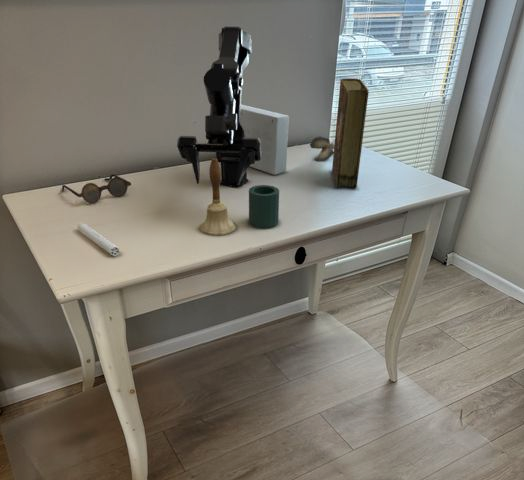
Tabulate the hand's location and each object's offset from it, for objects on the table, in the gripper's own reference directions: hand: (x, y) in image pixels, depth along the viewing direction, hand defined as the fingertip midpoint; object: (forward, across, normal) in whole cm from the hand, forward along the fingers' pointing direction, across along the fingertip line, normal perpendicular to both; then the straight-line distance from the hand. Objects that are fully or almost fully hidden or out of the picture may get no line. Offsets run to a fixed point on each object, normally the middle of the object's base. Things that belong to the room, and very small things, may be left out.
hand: (217, 183), depth 112 cm
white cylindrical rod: (+15, -26, -1) cm, 30 cm away
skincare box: (-25, +6, +40) cm, 47 cm away
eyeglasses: (-6, -37, +20) cm, 42 cm away
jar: (+6, +10, +8) cm, 15 cm away
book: (-17, +32, +32) cm, 48 cm away
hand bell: (+9, 0, +6) cm, 10 cm away
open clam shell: (-32, +27, +47) cm, 63 cm away
